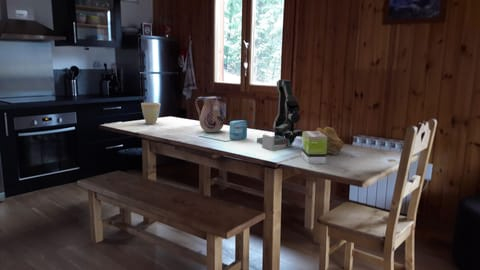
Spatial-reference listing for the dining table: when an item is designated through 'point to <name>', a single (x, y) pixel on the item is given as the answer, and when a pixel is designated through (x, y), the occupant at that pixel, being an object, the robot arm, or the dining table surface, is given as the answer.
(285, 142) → the caddy
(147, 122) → the plant pot
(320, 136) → the tea box
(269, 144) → the grey block
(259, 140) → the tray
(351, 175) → the dining table surface
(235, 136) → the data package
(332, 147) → the rough brown rock
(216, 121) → the ceramic pitcher
